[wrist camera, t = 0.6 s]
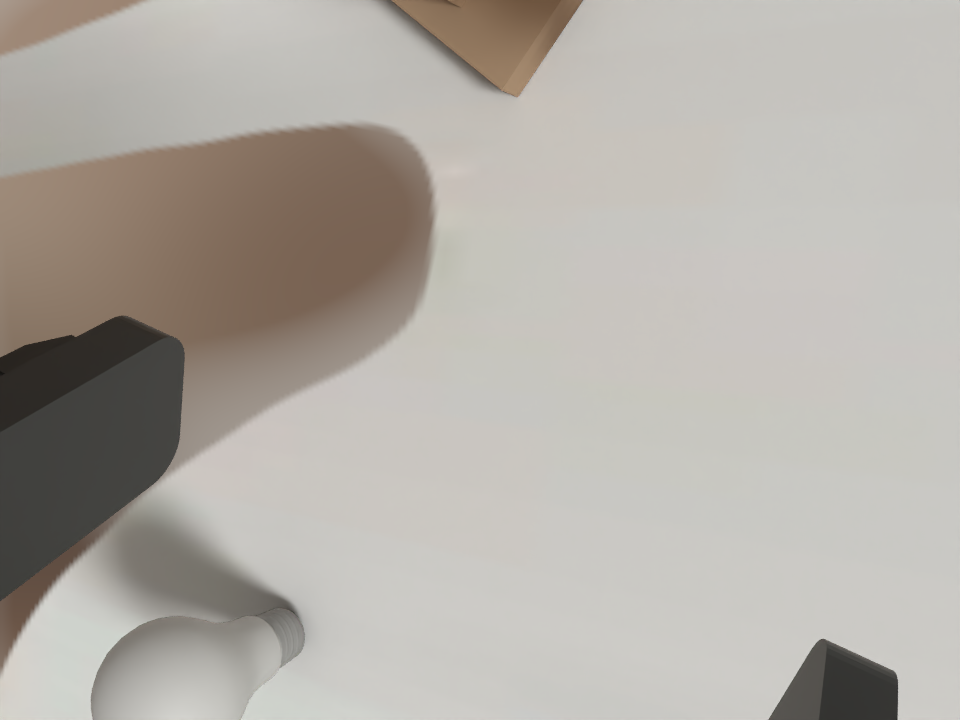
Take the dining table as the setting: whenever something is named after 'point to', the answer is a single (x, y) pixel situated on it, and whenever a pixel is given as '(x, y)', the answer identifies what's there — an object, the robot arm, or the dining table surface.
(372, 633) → the dining table surface
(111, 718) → the lightbulb
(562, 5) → the stand
